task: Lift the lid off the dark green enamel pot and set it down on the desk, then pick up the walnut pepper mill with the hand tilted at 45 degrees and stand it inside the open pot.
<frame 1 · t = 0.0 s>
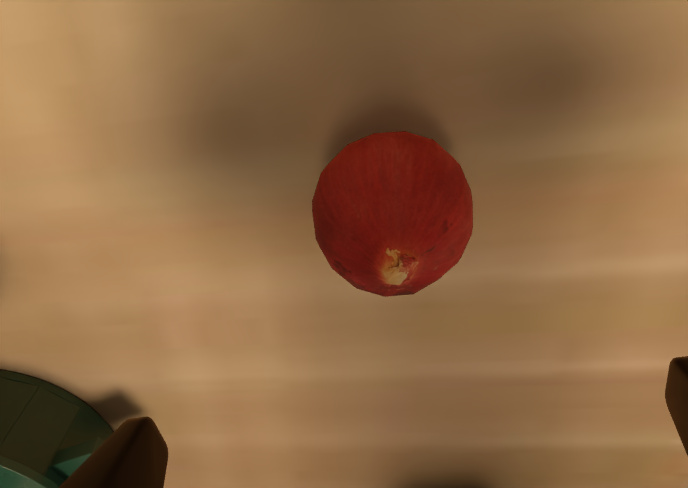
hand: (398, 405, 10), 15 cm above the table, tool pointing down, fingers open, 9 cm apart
pot: (18, 442, 34), on the table
onion: (387, 168, 23), on the table
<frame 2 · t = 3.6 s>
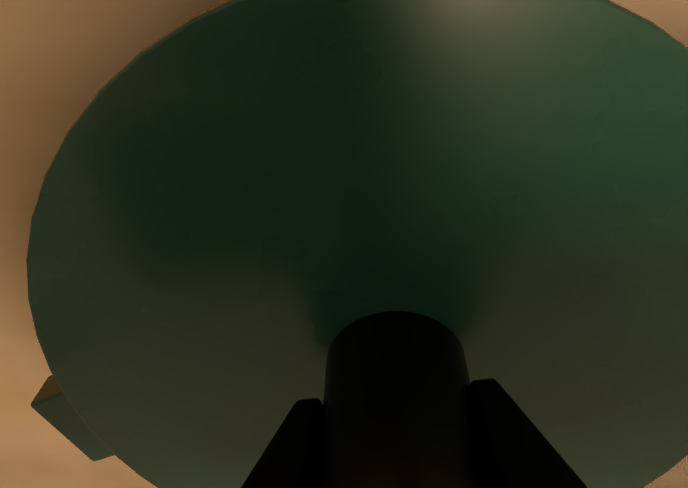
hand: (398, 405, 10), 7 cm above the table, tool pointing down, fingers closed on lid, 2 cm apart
pot: (385, 218, 15), on the table
lid: (393, 344, 11), point 5 cm above the table, touching gripper, pot
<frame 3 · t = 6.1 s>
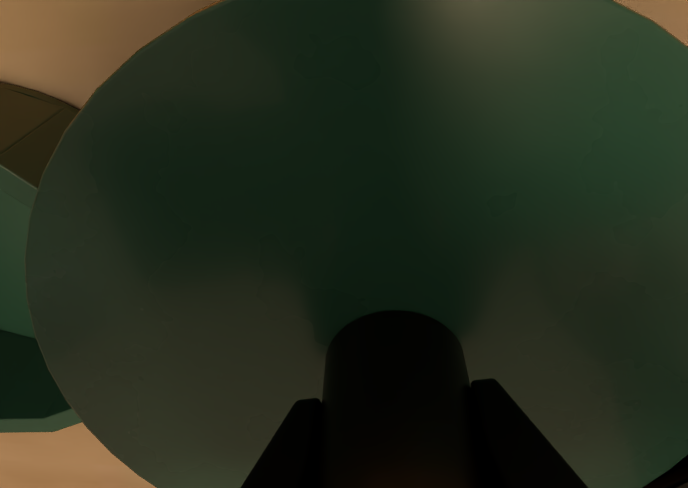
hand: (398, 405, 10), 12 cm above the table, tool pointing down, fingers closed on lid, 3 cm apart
pot: (29, 232, 23), on the table
lid: (393, 344, 11), point 11 cm above the table, touching gripper
when the fingers open (2 cm above the table, at t = 8.7 s): lid stays where it is, point 1 cm above the table.
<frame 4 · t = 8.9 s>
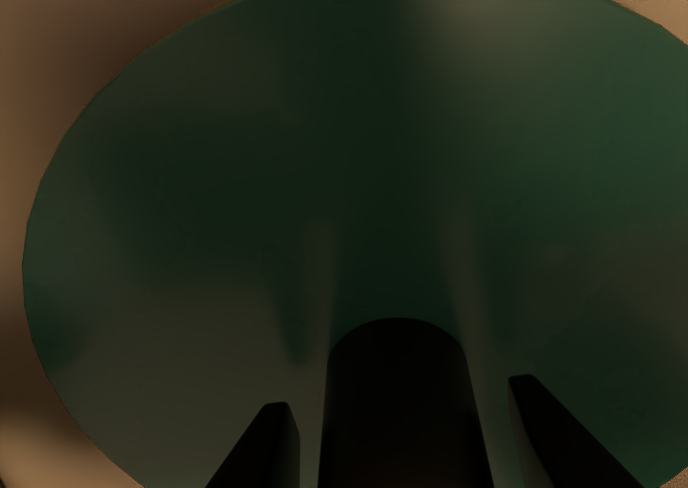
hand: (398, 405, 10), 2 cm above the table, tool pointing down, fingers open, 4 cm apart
lid: (395, 350, 11), point 1 cm above the table
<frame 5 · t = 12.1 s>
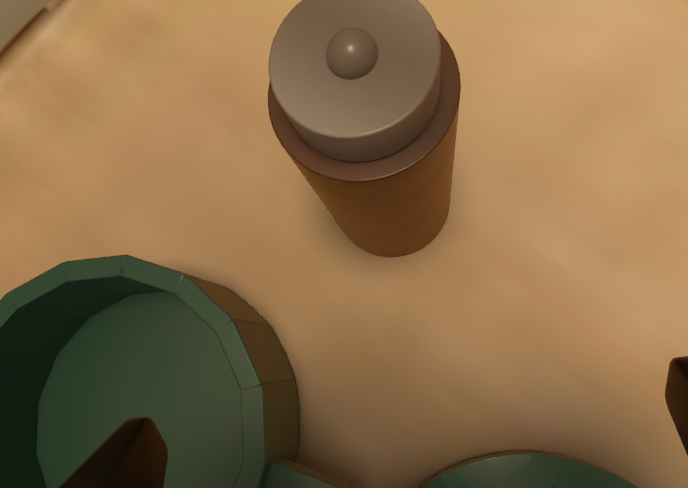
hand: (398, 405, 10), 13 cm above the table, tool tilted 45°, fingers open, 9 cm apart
pot: (159, 419, 24), on the table
pepper mill: (391, 201, 24), on the table
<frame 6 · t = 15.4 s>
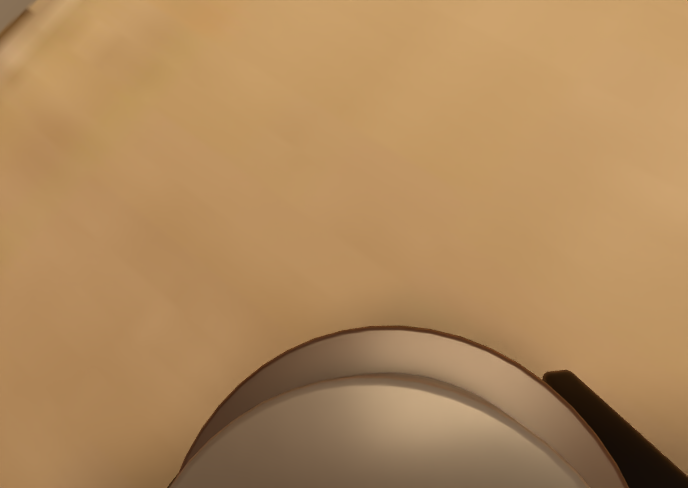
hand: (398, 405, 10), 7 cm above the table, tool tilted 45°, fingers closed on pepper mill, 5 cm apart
pepper mill: (418, 437, 16), on the table, touching gripper
when the fingers open (7 cm above the table, at t = 22.0 s): pepper mill stays where it is, resting on pot.
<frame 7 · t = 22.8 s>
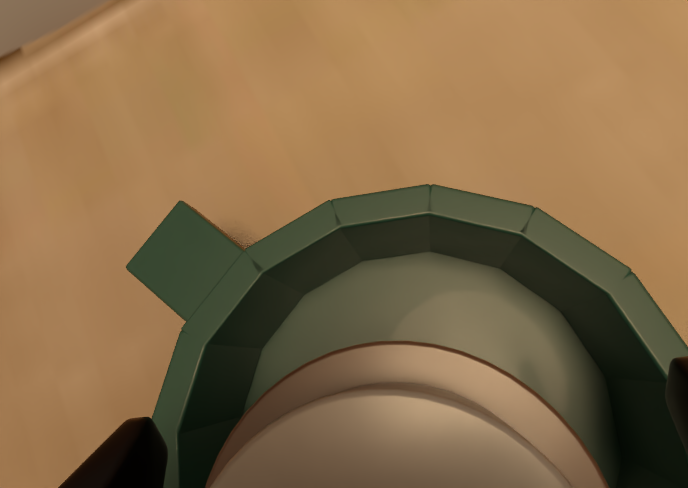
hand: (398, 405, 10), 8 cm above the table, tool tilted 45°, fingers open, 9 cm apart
pot: (421, 433, 17), on the table
pepper mill: (420, 439, 16), resting on pot
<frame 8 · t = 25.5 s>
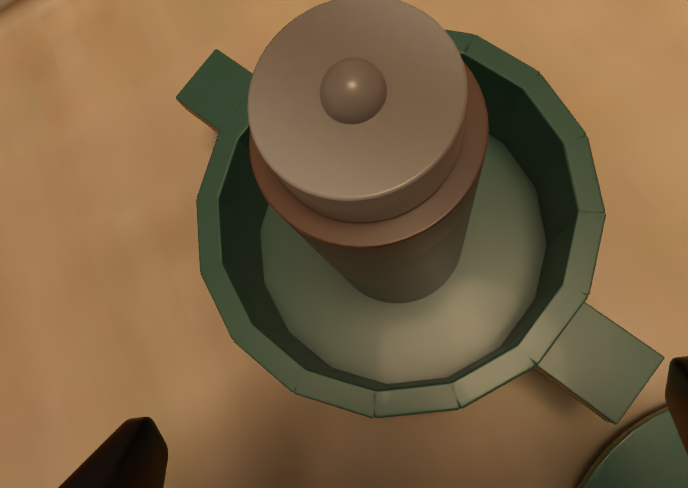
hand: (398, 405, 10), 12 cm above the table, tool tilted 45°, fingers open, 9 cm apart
pot: (398, 240, 22), on the table
pepper mill: (397, 239, 21), resting on pot
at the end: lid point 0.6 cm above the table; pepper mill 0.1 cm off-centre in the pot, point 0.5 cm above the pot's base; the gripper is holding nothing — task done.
